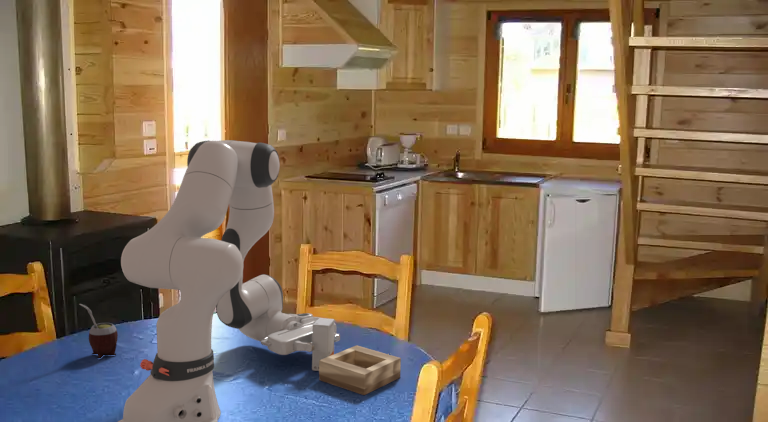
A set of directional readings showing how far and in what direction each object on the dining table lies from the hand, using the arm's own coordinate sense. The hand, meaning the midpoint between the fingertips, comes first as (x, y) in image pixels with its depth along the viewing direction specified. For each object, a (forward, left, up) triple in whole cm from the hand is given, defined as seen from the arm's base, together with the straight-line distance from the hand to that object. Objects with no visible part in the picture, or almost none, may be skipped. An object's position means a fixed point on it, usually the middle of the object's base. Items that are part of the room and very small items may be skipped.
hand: (325, 343), depth 190 cm
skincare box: (0, +1, -7) cm, 7 cm away
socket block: (0, -11, -7) cm, 13 cm away
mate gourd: (-31, +50, -7) cm, 59 cm away
